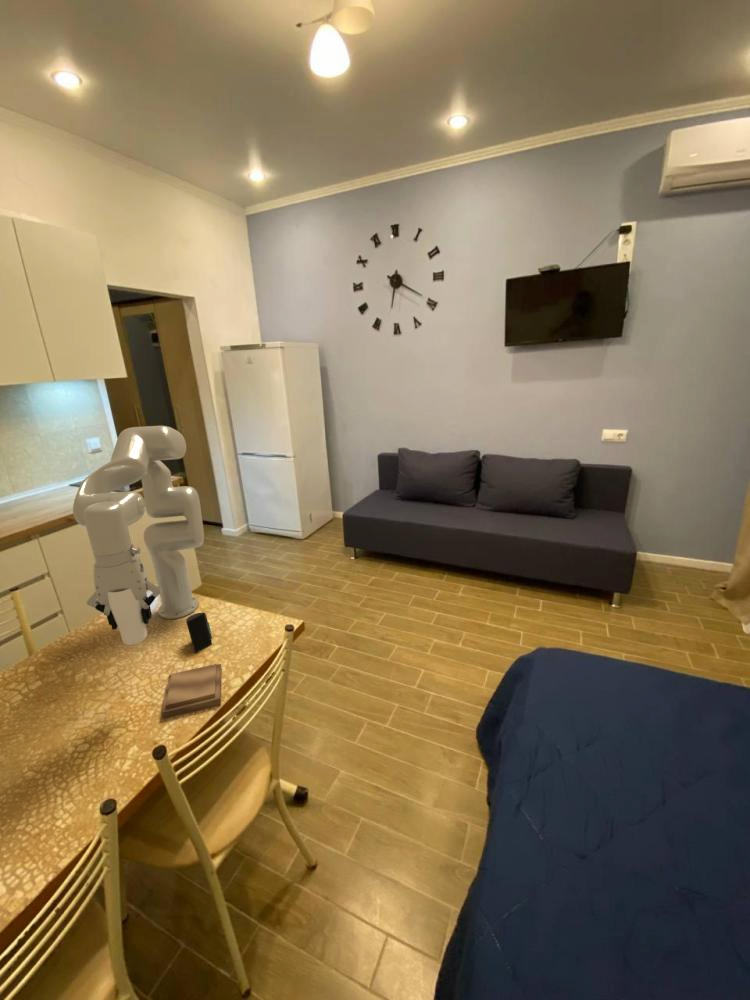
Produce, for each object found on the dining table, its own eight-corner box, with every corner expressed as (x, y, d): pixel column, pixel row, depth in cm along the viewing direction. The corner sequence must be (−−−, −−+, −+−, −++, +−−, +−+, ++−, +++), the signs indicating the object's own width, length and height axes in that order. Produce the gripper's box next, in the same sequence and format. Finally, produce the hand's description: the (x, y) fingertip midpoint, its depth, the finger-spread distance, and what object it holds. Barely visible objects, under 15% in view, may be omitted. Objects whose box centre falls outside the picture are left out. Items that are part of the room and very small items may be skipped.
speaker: (215, 646, 124) (207, 615, 122) (195, 654, 122) (186, 622, 119) (211, 634, 131) (203, 605, 128) (191, 642, 128) (183, 612, 125)
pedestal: (170, 681, 112) (168, 672, 111) (221, 669, 115) (220, 660, 114) (163, 719, 100) (160, 709, 99) (220, 704, 104) (219, 695, 103)
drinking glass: (137, 650, 98) (122, 594, 93) (112, 646, 100) (97, 591, 95) (157, 632, 104) (144, 579, 99) (134, 628, 106) (120, 576, 101)
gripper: (159, 543, 100) (173, 608, 106) (76, 554, 96) (96, 621, 102) (153, 557, 94) (168, 625, 100) (64, 569, 89) (85, 640, 95)
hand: (131, 622), depth 101 cm, fingers closed on drinking glass, 6 cm apart
